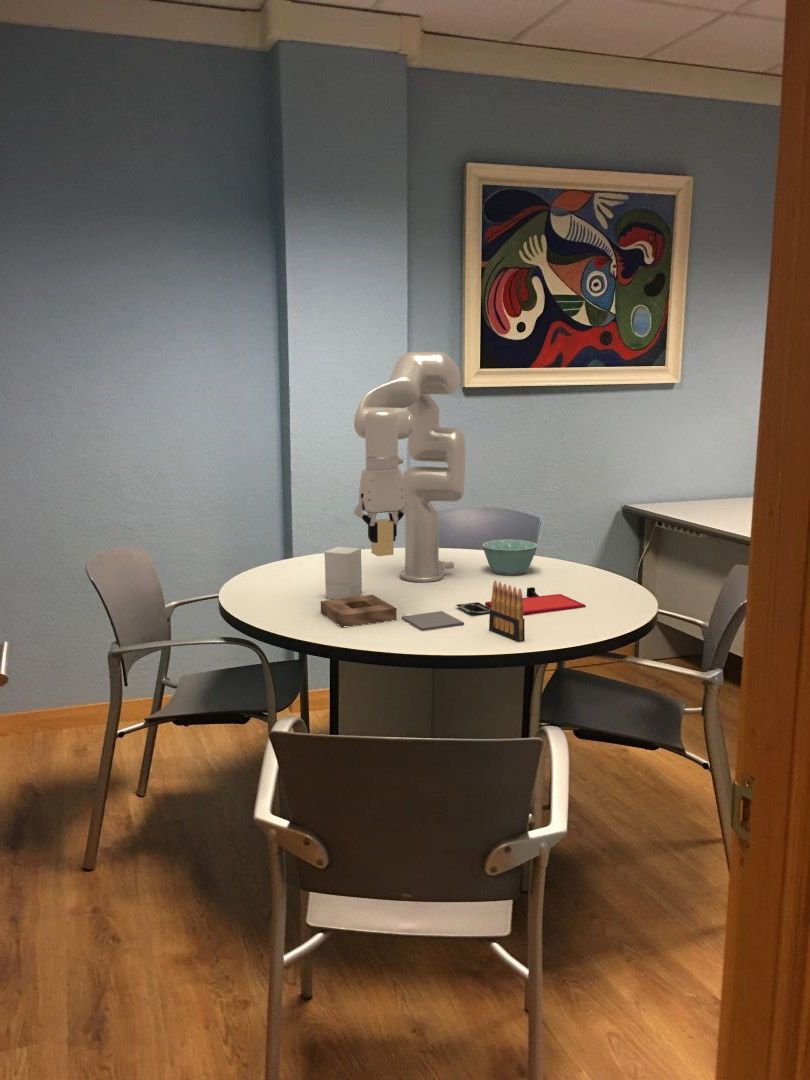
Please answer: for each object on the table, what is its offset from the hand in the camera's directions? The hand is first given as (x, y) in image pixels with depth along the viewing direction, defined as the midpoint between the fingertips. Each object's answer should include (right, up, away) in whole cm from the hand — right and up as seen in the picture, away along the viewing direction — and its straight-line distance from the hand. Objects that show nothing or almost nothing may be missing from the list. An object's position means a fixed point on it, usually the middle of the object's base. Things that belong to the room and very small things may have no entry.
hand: (382, 540), depth 219 cm
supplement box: (-11, -15, +24) cm, 30 cm away
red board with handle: (+34, -17, +14) cm, 41 cm away
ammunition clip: (+28, -22, -10) cm, 37 cm away
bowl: (+36, -9, +51) cm, 63 cm away
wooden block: (0, -3, +1) cm, 3 cm away
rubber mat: (+12, -19, +1) cm, 23 cm away
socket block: (-6, -19, +5) cm, 20 cm away
